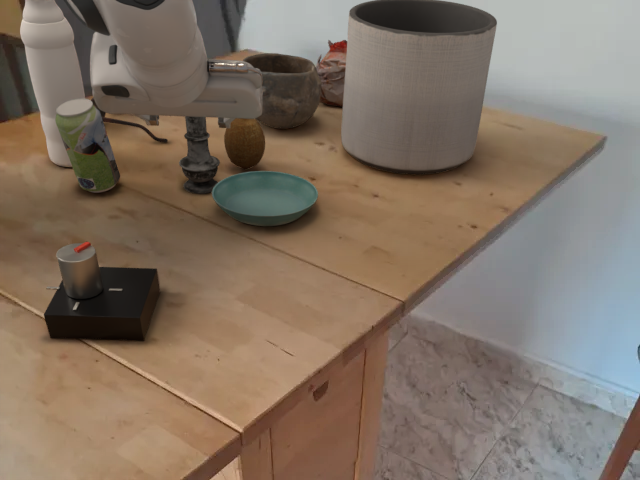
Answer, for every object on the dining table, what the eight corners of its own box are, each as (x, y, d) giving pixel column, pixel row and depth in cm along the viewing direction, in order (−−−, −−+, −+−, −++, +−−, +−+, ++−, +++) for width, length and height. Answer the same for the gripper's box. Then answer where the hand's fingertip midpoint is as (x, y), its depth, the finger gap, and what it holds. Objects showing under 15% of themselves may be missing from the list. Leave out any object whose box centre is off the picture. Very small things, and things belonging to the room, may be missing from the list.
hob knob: (85, 303, 73) (75, 263, 70) (57, 292, 74) (46, 252, 71) (111, 286, 76) (103, 246, 72) (83, 276, 77) (74, 236, 74)
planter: (411, 119, 126) (426, -8, 112) (501, 160, 113) (530, 22, 99) (314, 143, 116) (317, 6, 102) (400, 191, 103) (417, 42, 89)
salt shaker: (228, 182, 103) (223, 98, 95) (208, 197, 99) (200, 111, 91) (195, 174, 105) (187, 91, 97) (173, 189, 101) (163, 103, 93)
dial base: (39, 337, 73) (32, 313, 71) (65, 287, 81) (59, 263, 78) (144, 341, 73) (139, 316, 71) (160, 290, 81) (156, 267, 79)
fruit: (236, 157, 110) (234, 105, 105) (272, 164, 109) (271, 111, 103) (218, 172, 106) (215, 118, 100) (255, 179, 104) (253, 125, 99)
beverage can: (130, 185, 101) (116, 100, 93) (92, 203, 97) (74, 114, 88) (100, 174, 104) (84, 90, 95) (62, 191, 99) (42, 103, 91)
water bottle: (60, 172, 104) (15, -22, 87) (43, 156, 108) (-3, -32, 91) (104, 162, 107) (69, -27, 90) (86, 147, 111) (50, -37, 94)
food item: (353, 111, 128) (357, 52, 121) (311, 107, 129) (312, 48, 122) (363, 88, 137) (367, 33, 131) (324, 84, 138) (326, 29, 132)
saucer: (336, 220, 95) (337, 202, 93) (240, 243, 90) (239, 224, 88) (287, 180, 104) (287, 163, 103) (197, 198, 99) (195, 180, 97)
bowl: (292, 145, 115) (292, 81, 108) (219, 125, 120) (215, 62, 113) (335, 121, 123) (337, 60, 117) (264, 103, 129) (263, 44, 122)
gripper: (261, 38, 77) (268, 100, 91) (78, 31, 77) (113, 95, 90) (260, 93, 77) (267, 147, 91) (76, 86, 76) (112, 142, 90)
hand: (189, 121), depth 91 cm, fingers open, 8 cm apart
